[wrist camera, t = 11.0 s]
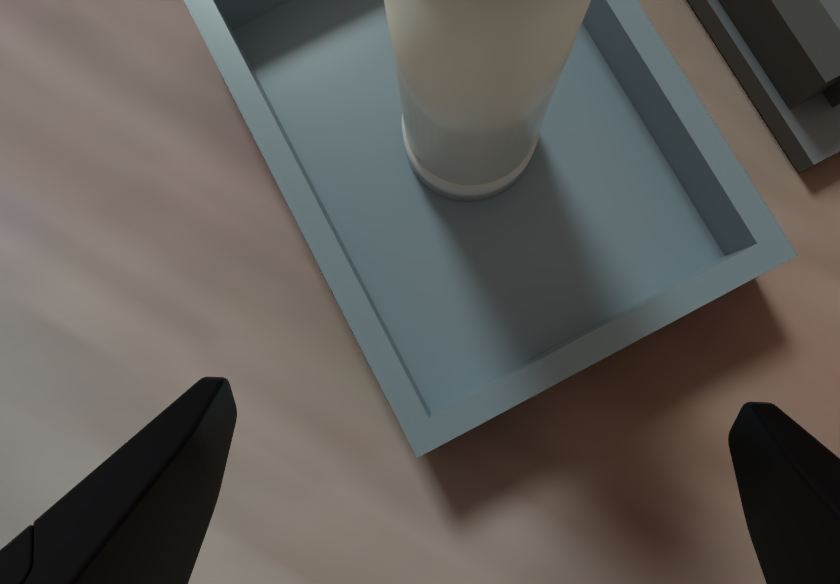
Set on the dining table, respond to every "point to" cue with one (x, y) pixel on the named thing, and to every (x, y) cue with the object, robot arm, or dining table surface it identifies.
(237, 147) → the dining table surface
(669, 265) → the parts tray
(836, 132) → the grey piece
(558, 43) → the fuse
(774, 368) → the dining table surface
